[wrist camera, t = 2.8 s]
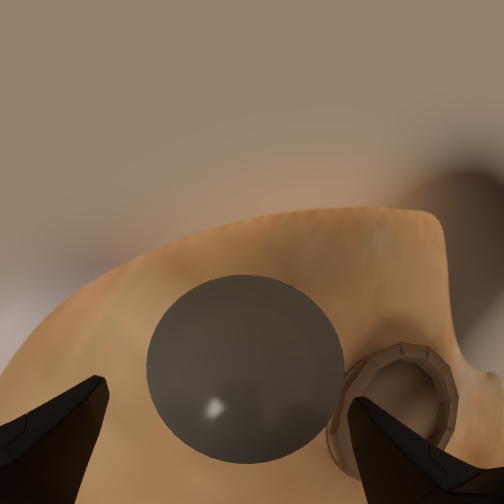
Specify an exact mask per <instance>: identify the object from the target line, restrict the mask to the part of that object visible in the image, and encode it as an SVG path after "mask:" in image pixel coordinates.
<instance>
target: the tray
mask: <svg viewBox="0 0 504 504" xmlns="http://www.w3.org/2000/svg"><path fill="white" fill-rule="evenodd" d="M360 396H365V397H367V398H368V399H370V400H371V401H372V402H374V403H375V404H377V405H378V406H379V407H381V408H382V409H383V410H385V411H386V412H387V413H389V414H390V415H392V416H393V417H394V418H396V419H397V420H399V421H400V422H401V423H403V424H404V425H406V426H407V427H409V428H410V429H411V430H413V431H414V432H416V433H417V434H419V435H420V436H422V437H423V438H425V439H426V440H427V441H428V442H431V443H432V444H434V445H435V446H437V447H438V448H440V449H441V450H443V451H444V449H445V447H446V446H447V444H448V442H449V440H450V438H451V436H452V434H453V432H454V430H455V424H456V417H457V408H458V399H459V396H458V392H457V388H456V385H455V382H454V378H453V375H452V372H451V369H450V366H449V365H448V364H447V363H446V362H445V361H444V360H443V359H442V358H441V357H440V356H439V355H438V354H436V353H435V352H434V351H433V350H432V349H431V348H430V347H429V346H422V345H415V344H408V343H402V342H400V343H398V344H396V345H393V346H391V347H389V348H387V349H384V350H381V351H379V352H376V353H374V354H371V355H369V356H367V357H366V358H364V359H362V360H361V361H360V362H358V363H357V364H356V365H355V366H354V367H353V368H351V369H350V370H349V372H348V373H347V374H346V375H345V376H344V384H343V389H342V393H341V397H340V400H339V402H338V405H337V408H336V410H335V412H334V413H333V415H332V417H331V419H330V420H329V422H328V423H327V424H326V439H327V445H328V448H329V451H330V454H331V456H332V458H333V460H334V461H335V463H336V464H337V466H338V467H339V468H340V469H341V470H342V471H343V472H345V473H346V474H347V475H349V476H351V477H353V478H355V479H357V480H359V481H362V480H361V477H360V473H359V470H358V466H357V463H356V459H355V456H354V452H353V449H352V443H351V437H350V431H349V425H348V420H347V412H348V409H349V407H350V405H351V403H352V401H353V399H354V398H355V397H360Z"/></svg>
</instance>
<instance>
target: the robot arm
mask: <svg viewBox="0 0 504 504" xmlns="http://www.w3.org/2000/svg"><path fill="white" fill-rule="evenodd" d="M108 401H109V390H108V386H107V382H106V379H105V378H104V377H101V376H98V375H93V376H91V377H90V378H88V379H86V380H85V381H83V382H81V383H79V384H78V385H76V386H74V387H72V388H71V389H69V390H67V391H65V392H64V393H62V394H60V395H58V396H57V397H55V398H53V399H51V400H50V401H48V402H46V403H44V404H42V405H41V406H39V407H37V408H35V409H33V410H32V411H30V412H28V413H27V414H24V415H22V416H21V417H19V418H17V419H15V420H13V421H11V422H9V423H6V424H4V425H1V426H0V504H75V501H76V497H77V494H78V491H79V488H80V485H81V482H82V479H83V476H84V474H85V471H86V468H87V465H88V462H89V460H90V457H91V454H92V452H93V449H94V446H95V444H96V441H97V439H98V436H99V433H100V430H101V427H102V423H103V419H104V415H105V412H106V408H107V405H108ZM347 420H348V425H349V431H350V437H351V443H352V449H353V452H354V456H355V459H356V463H357V466H358V470H359V473H360V477H361V480H362V484H363V488H364V491H365V495H366V499H367V502H368V504H504V467H499V468H492V469H481V468H477V467H474V466H472V465H470V464H468V463H466V462H464V461H462V460H460V459H458V458H456V457H454V456H452V455H450V454H448V453H446V452H445V451H443V450H441V449H440V448H438V447H437V446H435V445H434V444H432V443H431V442H428V441H427V440H426V439H425V438H423V437H422V436H420V435H419V434H417V433H416V432H414V431H413V430H411V429H410V428H409V427H407V426H406V425H404V424H403V423H401V422H400V421H399V420H397V419H396V418H394V417H393V416H392V415H390V414H389V413H387V412H386V411H385V410H383V409H382V408H381V407H379V406H378V405H377V404H375V403H374V402H372V401H371V400H370V399H368V398H367V397H365V396H360V397H355V398H354V399H353V401H352V403H351V405H350V407H349V409H348V412H347Z"/></svg>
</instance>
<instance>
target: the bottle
mask: <svg viewBox="0 0 504 504" xmlns="http://www.w3.org/2000/svg"><path fill="white" fill-rule="evenodd" d="M344 373H345V372H344V358H343V352H342V348H341V345H340V341H339V338H338V336H337V334H336V332H335V329H334V327H333V326H332V324H331V322H330V321H329V319H328V318H327V316H326V315H325V314H324V313H323V311H322V310H321V309H320V308H319V307H318V306H317V305H316V304H315V303H314V302H313V301H312V300H311V299H310V298H308V297H307V296H306V295H304V294H303V293H302V292H300V291H298V290H297V289H295V288H293V287H292V286H289V285H287V284H285V283H283V282H280V281H277V280H274V279H271V278H266V277H261V276H252V275H234V276H228V277H221V278H218V279H214V280H211V281H208V282H206V283H203V284H201V285H199V286H197V287H195V288H194V289H192V290H190V291H188V292H187V293H186V294H184V295H183V296H182V297H180V298H179V299H178V300H177V301H176V302H175V303H174V304H173V305H172V306H171V307H170V308H169V309H168V310H167V312H166V313H165V314H164V315H163V317H162V318H161V320H160V322H159V323H158V325H157V327H156V329H155V331H154V334H153V336H152V338H151V342H150V345H149V349H148V355H147V381H148V387H149V391H150V394H151V397H152V401H153V403H154V405H155V407H156V409H157V411H158V413H159V415H160V417H161V418H162V420H163V421H164V422H165V424H166V425H167V427H168V428H169V429H170V430H171V431H172V432H173V433H174V434H175V435H176V436H177V437H178V438H179V439H180V440H182V441H183V442H184V443H185V444H186V445H188V446H190V447H191V448H193V449H194V450H196V451H198V452H200V453H202V454H204V455H206V456H209V457H211V458H214V459H218V460H221V461H225V462H231V463H238V464H254V463H263V462H268V461H272V460H276V459H279V458H282V457H284V456H287V455H289V454H292V453H293V452H295V451H297V450H299V449H300V448H302V447H304V446H305V445H306V444H308V443H309V442H310V441H311V440H313V439H314V438H315V437H316V436H317V435H318V434H319V433H320V432H321V431H322V430H323V428H324V427H325V426H326V424H327V423H328V422H329V420H330V419H331V417H332V415H333V413H334V412H335V410H336V408H337V405H338V402H339V400H340V397H341V393H342V389H343V384H344Z"/></svg>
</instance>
